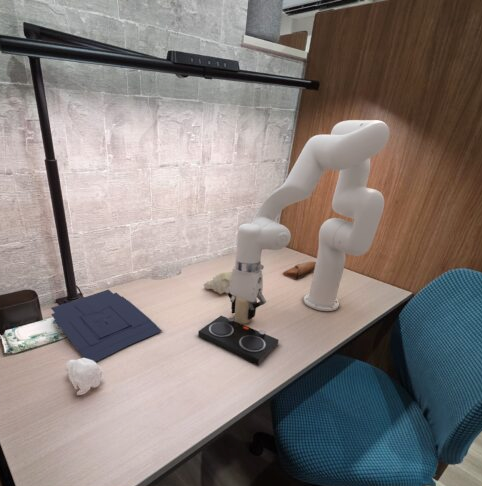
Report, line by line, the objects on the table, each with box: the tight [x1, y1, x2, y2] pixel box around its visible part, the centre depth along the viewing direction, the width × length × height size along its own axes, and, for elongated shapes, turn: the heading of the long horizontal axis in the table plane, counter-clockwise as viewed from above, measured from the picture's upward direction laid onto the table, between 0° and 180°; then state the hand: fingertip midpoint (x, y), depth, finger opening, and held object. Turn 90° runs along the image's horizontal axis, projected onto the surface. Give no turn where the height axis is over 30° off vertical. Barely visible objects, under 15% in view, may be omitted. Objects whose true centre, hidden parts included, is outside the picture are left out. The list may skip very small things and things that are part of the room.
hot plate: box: [197, 315, 279, 366], centre depth 95 cm, size 12×21×3 cm, turn 52°
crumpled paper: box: [65, 357, 103, 396], centre depth 76 cm, size 6×8×12 cm
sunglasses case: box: [282, 261, 316, 281], centre depth 143 cm, size 18×7×7 cm, turn 133°
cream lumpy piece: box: [203, 271, 232, 295], centre depth 124 cm, size 15×7×15 cm
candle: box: [233, 297, 252, 325], centre depth 104 cm, size 6×6×10 cm
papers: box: [50, 288, 163, 363], centre depth 100 cm, size 24×30×4 cm
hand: (242, 314), depth 106 cm, fingers closed on candle, 5 cm apart
